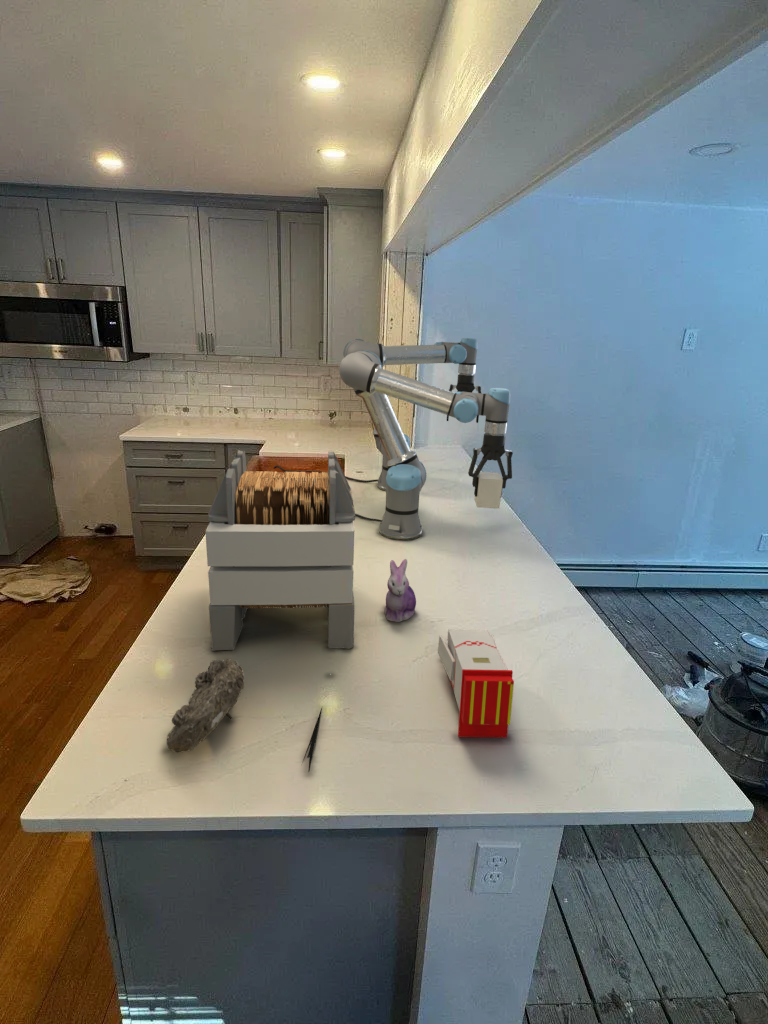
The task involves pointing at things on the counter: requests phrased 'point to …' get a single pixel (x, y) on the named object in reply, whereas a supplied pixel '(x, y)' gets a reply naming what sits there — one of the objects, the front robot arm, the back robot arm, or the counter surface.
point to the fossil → (206, 705)
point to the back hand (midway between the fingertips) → (462, 421)
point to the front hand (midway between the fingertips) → (487, 495)
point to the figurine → (399, 594)
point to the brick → (489, 490)
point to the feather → (313, 740)
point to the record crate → (281, 548)
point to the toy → (478, 682)
